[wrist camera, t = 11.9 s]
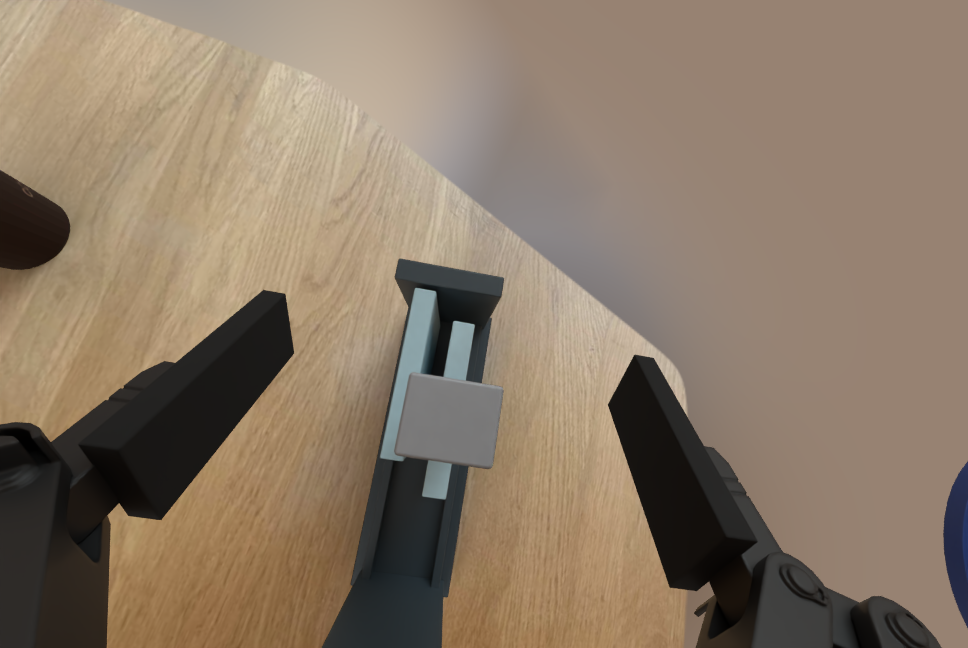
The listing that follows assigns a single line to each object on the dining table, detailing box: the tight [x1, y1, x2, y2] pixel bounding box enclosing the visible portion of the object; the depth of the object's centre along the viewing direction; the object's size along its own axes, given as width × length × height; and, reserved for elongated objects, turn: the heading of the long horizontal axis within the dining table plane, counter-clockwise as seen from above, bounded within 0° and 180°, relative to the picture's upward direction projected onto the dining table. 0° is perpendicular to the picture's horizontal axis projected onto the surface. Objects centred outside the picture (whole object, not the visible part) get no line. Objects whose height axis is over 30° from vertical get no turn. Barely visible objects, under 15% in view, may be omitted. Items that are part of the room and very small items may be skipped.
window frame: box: [322, 259, 504, 648], centre depth 24 cm, size 7×21×12 cm, turn 171°
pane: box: [394, 321, 503, 499], centre depth 18 cm, size 2×9×20 cm, turn 171°
